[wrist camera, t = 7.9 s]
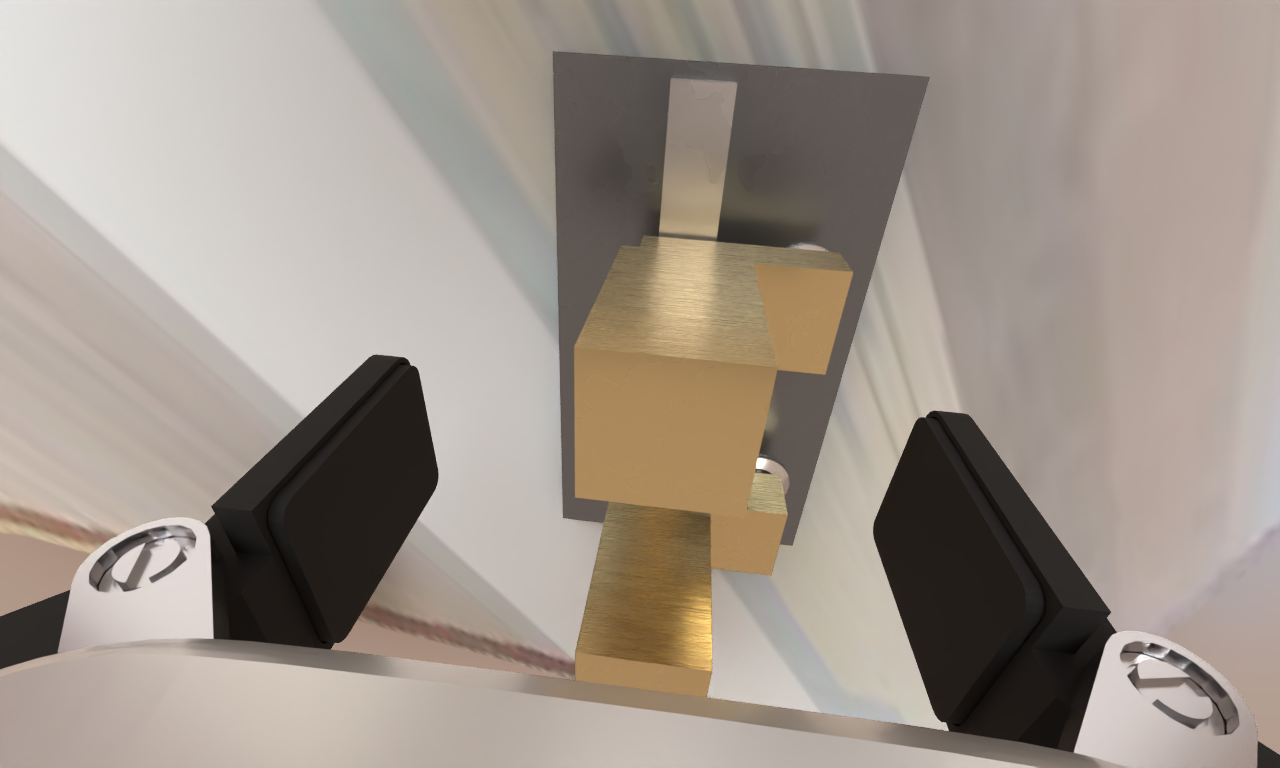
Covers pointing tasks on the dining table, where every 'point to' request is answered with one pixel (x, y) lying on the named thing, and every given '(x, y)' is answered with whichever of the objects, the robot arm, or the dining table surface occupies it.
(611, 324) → the block
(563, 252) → the hole plate
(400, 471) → the robot arm
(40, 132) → the dining table surface
